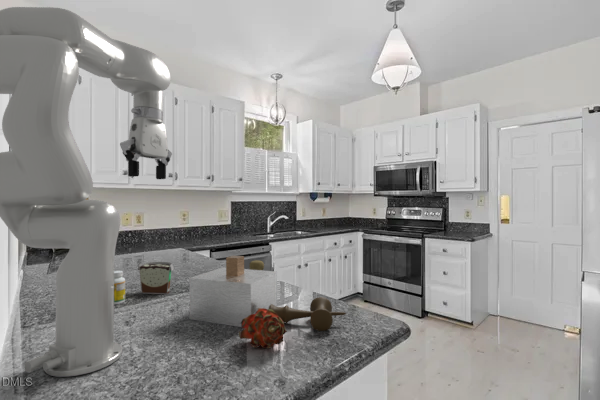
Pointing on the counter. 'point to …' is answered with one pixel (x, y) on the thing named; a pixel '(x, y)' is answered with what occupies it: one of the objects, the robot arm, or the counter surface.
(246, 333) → the dragon fruit
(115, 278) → the supplement bottle
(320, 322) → the kendama
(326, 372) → the counter surface
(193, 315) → the box with wooden handle
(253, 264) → the olive green tapered piece
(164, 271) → the food container
